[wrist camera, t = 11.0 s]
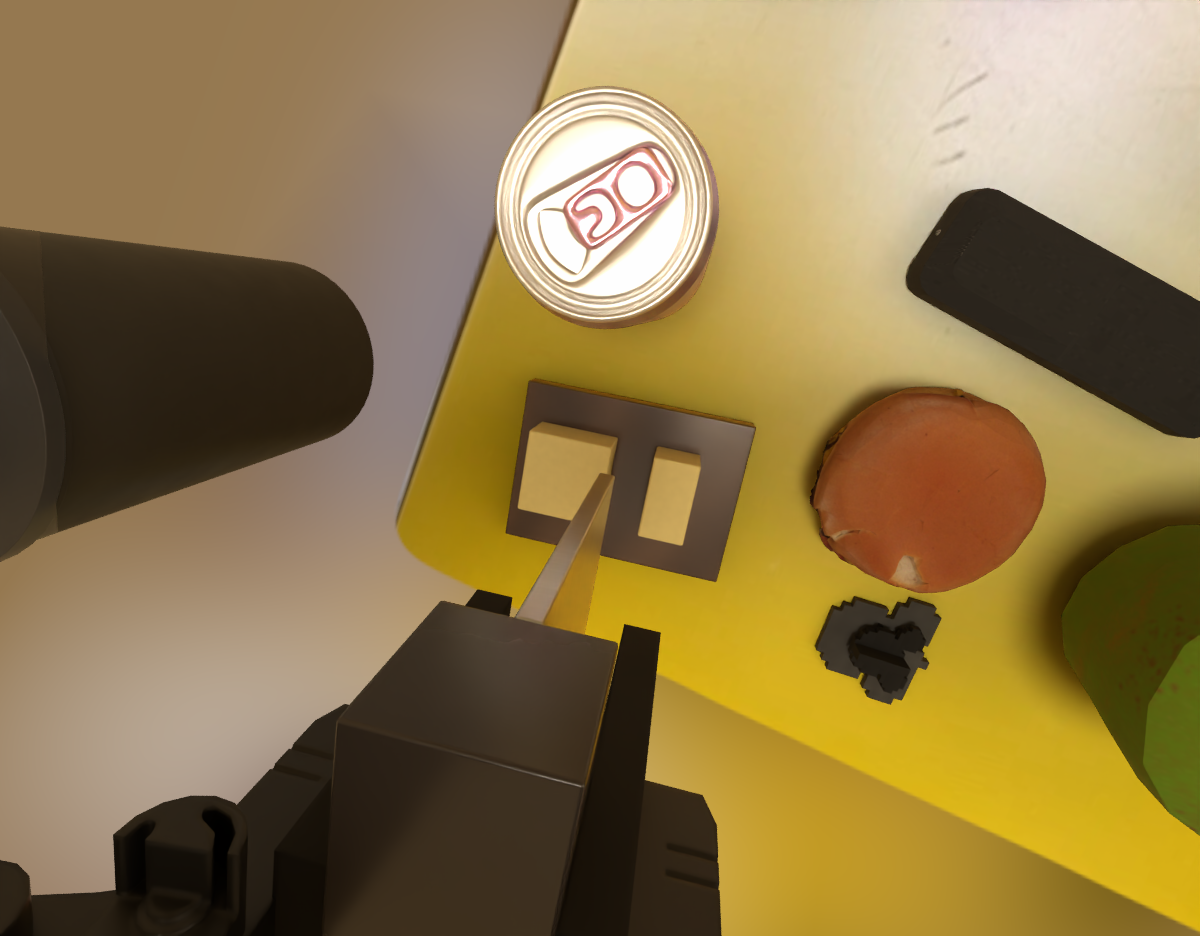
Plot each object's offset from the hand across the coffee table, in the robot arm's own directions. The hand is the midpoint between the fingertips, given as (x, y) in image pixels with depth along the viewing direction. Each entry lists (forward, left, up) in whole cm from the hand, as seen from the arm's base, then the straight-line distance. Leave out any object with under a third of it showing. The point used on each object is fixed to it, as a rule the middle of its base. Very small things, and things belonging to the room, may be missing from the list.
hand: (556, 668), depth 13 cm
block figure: (+14, -7, -20) cm, 26 cm away
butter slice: (+2, -1, -19) cm, 19 cm away
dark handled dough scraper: (0, 0, -3) cm, 3 cm away
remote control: (+18, +11, -20) cm, 29 cm away
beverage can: (-2, +10, -20) cm, 23 cm away
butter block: (-3, -1, -19) cm, 19 cm away
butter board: (0, -1, -20) cm, 20 cm away
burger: (+13, +2, -20) cm, 24 cm away
